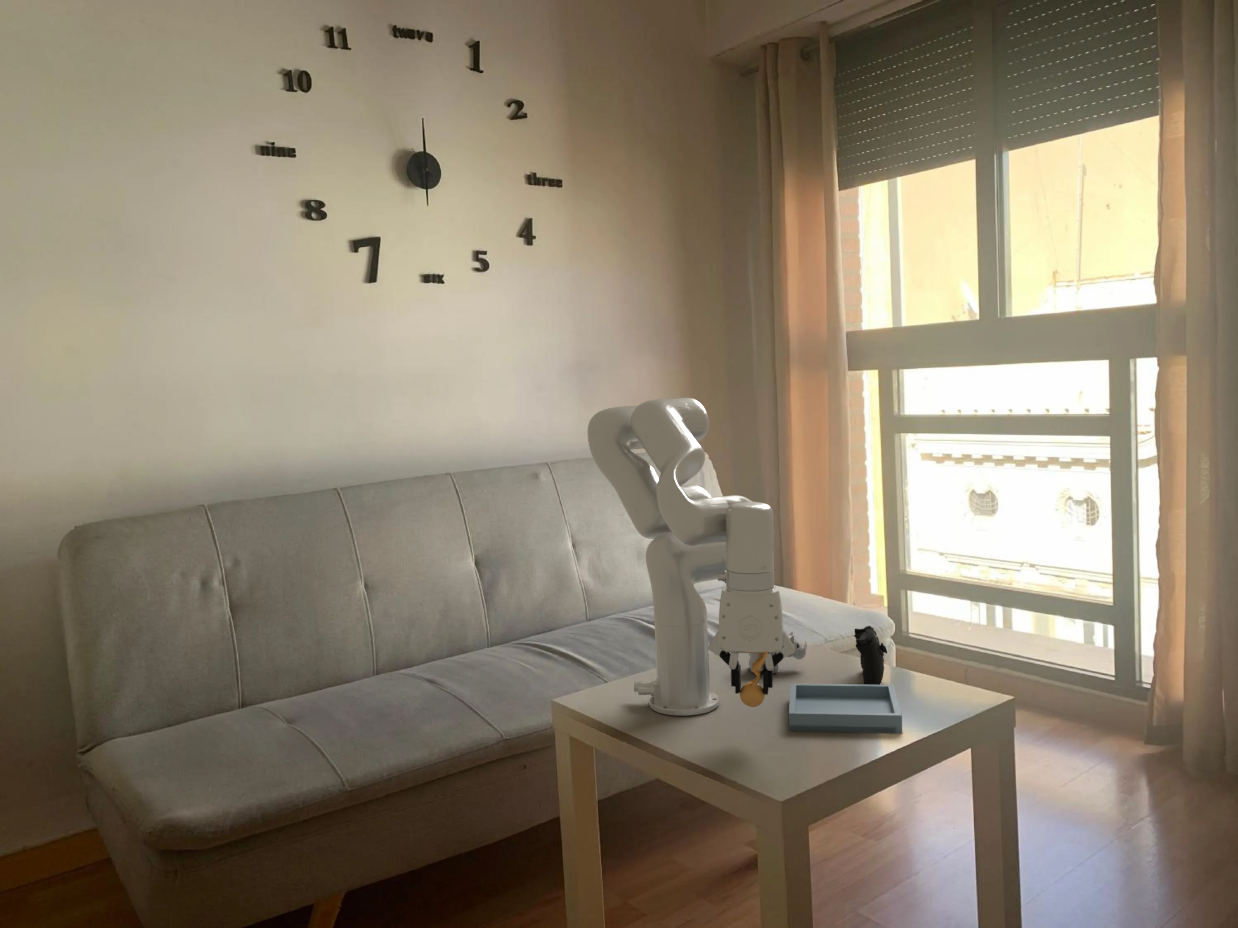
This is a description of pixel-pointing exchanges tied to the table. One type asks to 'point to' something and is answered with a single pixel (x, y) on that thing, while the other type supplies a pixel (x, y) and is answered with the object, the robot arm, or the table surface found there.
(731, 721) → the table surface
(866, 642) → the black elongated piece
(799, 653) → the chubby cartoon animal
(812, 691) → the tray
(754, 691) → the figurine
